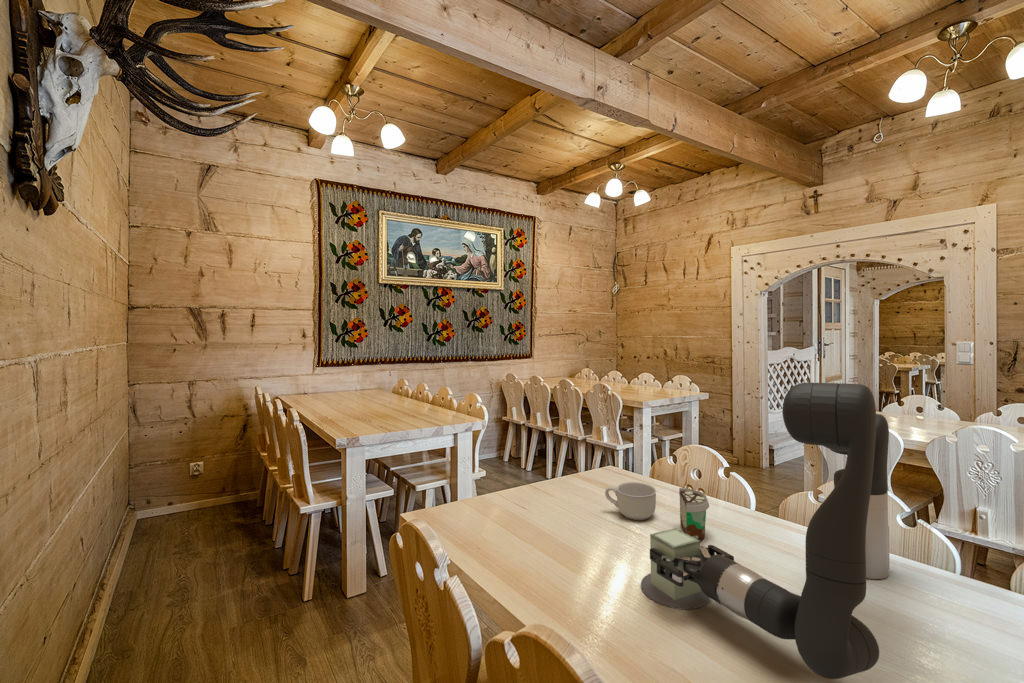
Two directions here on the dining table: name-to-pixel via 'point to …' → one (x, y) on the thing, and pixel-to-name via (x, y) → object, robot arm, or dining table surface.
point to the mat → (664, 599)
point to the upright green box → (671, 546)
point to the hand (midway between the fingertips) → (667, 548)
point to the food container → (693, 512)
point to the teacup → (634, 499)
